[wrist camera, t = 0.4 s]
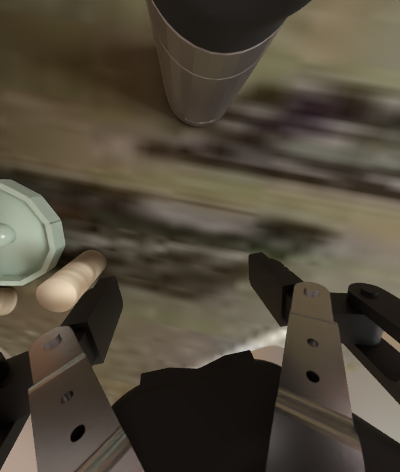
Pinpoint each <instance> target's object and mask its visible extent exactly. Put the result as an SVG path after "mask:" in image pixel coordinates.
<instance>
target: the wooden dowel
mask: <svg viewBox="0 0 400 472" xmlns="http://www.w3.org/2000/svg"><path fill="white" fill-rule="evenodd" d="M16 303H17V293H16V291H15V290H14V289H13V288H0V316H2V315H7V314H9V313H10V312H11V311H12V310H13V309H14V307H15V306H16Z"/></svg>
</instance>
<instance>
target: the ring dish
mask: <svg viewBox="0 0 400 472" xmlns="http://www.w3.org/2000/svg"><path fill="white" fill-rule="evenodd" d="M64 248H65V239H64V234H63V228H62V222H61V220H60V218H59V217H58V215H57V214H56V213H55V212H54V210H53V209H52V208H51V207H50V205H49V204H48V203H47V202H46V200H45V199H44V198H43V197H42V196H41V195H40V194H38V193H36V192H34V191H32V190H30V189H28V188H26V187H25V186H23V185H21V184H19V183H17V182H15V181H13V180H10V179H0V286H13V285H25V284H27V283H28V282H30V281H32V280H34V279H36V278H38V277H39V276H41V275H43V274H45V273H46V272H48V271H49V270H51V269H52V268H54V267H55V266H56V265H57V262H58V260H59V258H60V256H61V254H62V252H63V250H64Z"/></svg>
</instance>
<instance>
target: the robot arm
mask: <svg viewBox="0 0 400 472" xmlns="http://www.w3.org/2000/svg"><path fill="white" fill-rule="evenodd" d="M310 1H311V0H146V3H147V7H148V11H149V16H150V21H151V26H152V30H153V35H154V40H155V45H156V49H157V54H158V59H159V64H160V68H161V73H162V78H163V83H164V88H165V93H166V97H167V100H168V103H169V106H170V108H171V109H172V111H173V113H174V114H175V115H176V116H177V117H178V118H179V119H180V120H181V121H183V122H184V123H186V124H188V125H190V126H195V127H205V126H209V125H211V124H213V123H215V122H217V121H218V120H219V119H220V118H221V117H222V116H223V115H224V113H225V112H226V110H227V109H228V107H229V106H230V104H231V103H232V101H233V100H234V98H235V97H236V95H237V94H238V92H239V91H240V89H241V88H242V86H243V85H244V83H245V82H246V80H247V79H248V77H249V76H250V74H251V72H252V71H253V69H254V68H255V66H256V65H257V63H258V62H259V60H260V59H261V57H262V56H263V54H264V53H265V51H266V49H267V48H268V46H269V45H270V43H271V42H272V40H273V39H274V37H275V36H276V34H277V32H278V31H279V29H280V28H281V26H282V25H283V23H284V22H285V20H286V18H287V17H288V16H290V15H292V14H293V13H295V12H297V11H298V10H300V9H301V8H302V7H304V6H305V5H306V4H308V3H309V2H310ZM249 280H250V284H251V286H252V287H253V289H254V290H255V292H256V293H257V294H258V296H259V297H260V299H261V300H262V302H263V303H264V304H265V306H266V307H267V309H268V310H269V311H270V313H271V314H272V316H273V317H274V318H275V320H276V321H277V323H278V324H279V325H280V327H282V326H287V325H288V327H287V334H286V341H285V348H284V355H283V362H282V367H281V366H279V365H277V364H274V363H271V362H268V361H265V360H258V359H254V358H253V356H252V353H251V351H250V350H248V351H243V352H239V353H234V354H229V355H225V356H223V357H221V358H219V359H217V360H215V361H213V362H211V363H209V364H207V365H205V366H203V367H201V368H198V369H191V368H165V369H161V370H156V371H151V372H147V373H142V374H141V380H140V385H138V386H136V387H135V388H133V389H132V390H130V391H128V392H127V393H126V394H125V395H123V396H122V397H121V398H120V399H119V400H118V401H117V402H115V403H114V405H113V406H112V407H111V405H110V403H109V401H108V399H107V397H106V395H105V393H104V391H103V389H102V387H101V385H100V383H99V381H98V379H97V377H96V375H95V373H94V371H93V369H92V366H93V365H96V364H101V363H103V362H104V359H105V357H106V354H107V351H108V348H109V345H110V343H111V340H112V337H113V334H114V331H115V328H116V326H117V323H118V320H119V317H120V314H121V312H122V308H123V301H122V296H121V293H120V290H119V286H118V283H117V280H116V277H115V276H111V277H105V278H100V279H99V280H98V282H97V283H96V285H95V286H94V288H91V289H89V290H88V291H87V292H86V293H84V294H83V295H82V296H81V298H80V299H79V301H78V303H76V305H75V306H74V309H72V310H71V312H70V313H69V315H68V316H67V317H66V319H65V320H64V321H63V323H62V324H61V326H60V327H57V328H54V329H52V330H50V331H48V332H46V333H45V334H43V335H42V336H40V337H39V338H38V339H37V340H35V342H34V343H33V344H32V345H31V347H30V348H29V351H27V352H24V353H22V354H19V355H17V356H14V357H12V358H9V359H7V360H6V359H5V357H4V356H3V354H2V353H1V352H0V470H1V468H2V466H3V464H4V462H5V460H6V458H7V457H8V455H9V453H10V451H11V449H12V447H13V445H14V443H15V442H16V440H17V438H18V436H19V434H20V432H21V430H22V428H23V427H24V425H25V423H26V421H27V419H28V417H29V415H30V413H31V419H32V427H33V436H34V444H35V453H36V460H37V469H38V472H400V444H399V443H398V442H397V441H395V440H394V439H392V438H390V437H389V436H387V435H386V434H384V433H383V432H381V431H380V430H378V429H377V428H375V427H374V426H372V425H371V424H369V423H368V422H366V421H364V420H363V419H361V418H360V417H358V416H357V415H355V414H354V413H352V412H351V405H350V399H349V393H348V386H347V379H346V373H345V366H344V360H343V353H342V346H341V343H343V344H344V345H345V346H346V347H347V348H348V349H349V350H350V351H351V353H352V354H353V355H354V356H355V357H356V358H357V359H358V360H359V361H360V362H361V363H362V364H363V365H364V367H365V368H366V369H367V370H368V371H369V372H370V373H371V374H372V375H373V376H374V377H375V378H376V379H377V381H378V382H379V383H380V384H381V385H382V386H383V387H384V388H385V389H386V390H387V391H388V392H389V394H391V396H392V397H393V398H394V399H395V400H396V401H397V402H398V403H399V404H400V353H399V352H398V351H397V350H396V349H395V348H394V347H392V346H391V345H390V344H389V343H388V342H386V341H385V340H384V339H383V338H382V334H383V330H384V331H385V332H386V333H387V334H389V335H390V336H391V337H393V338H394V339H395V340H396V341H397V342H399V343H400V299H399V298H397V297H396V296H394V295H392V294H390V293H389V292H387V291H385V290H384V289H382V288H379V287H377V286H374V285H371V284H365V283H354V284H351V285H349V287H348V293H330V292H329V291H328V290H327V289H326V288H325V287H323V286H322V285H319V284H317V283H313V282H304V281H302V280H301V279H300V278H299V277H297V276H296V275H295V274H294V273H293V272H291V271H289V269H288V268H287V267H285V266H284V265H283V264H282V263H280V262H279V261H277V260H274V259H269V258H268V257H267V256H266V255H265V254H264V253H262V252H260V253H254V254H250V255H249Z"/></svg>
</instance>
